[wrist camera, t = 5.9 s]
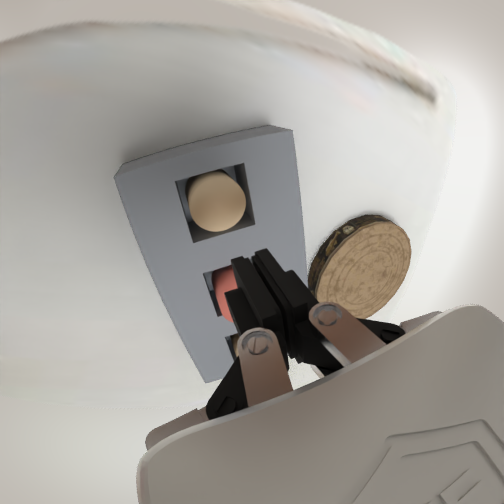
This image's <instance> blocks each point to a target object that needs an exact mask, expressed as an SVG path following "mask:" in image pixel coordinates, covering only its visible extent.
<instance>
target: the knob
mask: <svg viewBox="0 0 504 504" xmlns="http://www.w3.org/2000/svg"><path fill="white" fill-rule="evenodd" d="M185 194H186V198H187V202H188V206H189V209H190V213H191V216H192V218H193V220H194V221H195V223H196V224H197V225H199V226H200V227H201V228H203V229H205V230H208V231H214V232H218V231H224V230H227V229H229V228H231V227H232V226H234V225H235V224H236V223H237V222H238V221H239V220H240V219H241V217H242V216H243V214H244V211H245V207H246V198H245V194H244V192H243V190H242V189H241V187H240V186H239V185H238V184H237V183H236V182H235V181H234V180H233V179H232V178H231V177H230V176H229V175H228V174H227V173H226V172H225V171H224V170H223V169H217V170H214V171H210V172H206V173H203V174H199V175H195V176H192V177H189V179H188V181H187V183H186V187H185Z"/></svg>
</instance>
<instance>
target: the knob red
mask: <svg viewBox="0 0 504 504" xmlns="http://www.w3.org/2000/svg"><path fill="white" fill-rule="evenodd" d="M211 282H212V285H213V288H214V292H215V295H216V298H217V301H218V304H219V307H220V310H221V313H222V315H223V316H224V318H225V319H227V320H228V321H230V322H233V320H232V317H231V314H230V311H229V308H228V305H227V302H226V298H225V295H224V292H227V291H230V290H233V289H236V288H237V284H236V280H235V276H234V272H233V268H232V265H229V266H226V267H223V268H219V269H216V270H214V271H213V273H212V276H211ZM233 323H234V322H233Z"/></svg>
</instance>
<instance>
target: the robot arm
mask: <svg viewBox="0 0 504 504" xmlns="http://www.w3.org/2000/svg"><path fill="white" fill-rule="evenodd" d="M251 259H252V263H251V261H250V259H249V258H248V257H247V258H244V257H243V256H240V257H237V258H234V259H231V264H232V268H233V272H234V276H235V280H236V284H237V288H236V289H233V290H230V291H227V292H224V295H225V298H226V302H227V305H228V308H229V311H230V314H231V317H232V320H233V322H234V325H235V327H236V330H237V332H238V335H239V337H240V338H239V340H238V342H237V348H238V353H239V355H238V357H237V358H236V360H235V361H234V363H233V364H232V366H231V367H230V369H229V371H228V372H227V374H226V375H225V377H224V378H223V380H222V381H221V383H220V384H219V386H218V387H217V389H216V390H215V392H214V393H213V395H212V396H211V398H210V399H209V401H208V403H207V405H206V406H205V407H203V408H202V409H200V410H197V408H196V409H194V410H192V411H191V412H189V413H186V414H184V415H182V416H180V417H179V418H176V419H174V420H172V421H170V422H168V423H166V424H164V425H162V426H159V427H157V428H155V429H154V430H152V431H151V432H150V433H149V434H148V436H147V437H146V441H145V444H146V448H147V450H148V451H147V452H146V453H145V455H144V456H143V457H142V458H141V460H140V462H139V464H138V468H137V477H136V479H137V480H136V483H137V494H138V502H139V504H504V322H502V321H501V320H500V319H499V318H498V317H497V316H495V315H494V314H493V313H492V312H490V311H489V310H487V309H486V308H484V307H482V306H479V305H475V304H471V305H463V306H458V307H455V308H452V309H449V310H447V311H444V312H439V311H437V312H432V313H429V314H426V315H423V316H420V317H417V318H414V319H411V320H408V321H404V322H401V323H400V325H399V326H398V325H395V324H391V323H385V322H379V321H373V320H367V319H361V318H355V317H354V316H353V315H352V314H351V313H349V312H348V311H347V310H346V309H345V308H343V307H342V306H341V305H339V304H338V303H334V302H321V303H319V302H318V300H317V299H316V298H315V297H314V295H313V294H312V293H311V291H310V290H309V289H308V288H307V286H306V285H305V284H304V283H303V281H302V280H301V279H300V278H299V276H298V275H297V274H296V273H295V271H294V270H289V271H286V272H285V271H284V270H283V269H282V267H281V266H280V265H279V263H278V262H277V261H276V259H275V258H274V257H273V255H272V254H271V253H270V251H269V250H268V249H267V248H265V249H262V250H258V251H255V255H253V256H251ZM287 353H288V355H289V357H290V358H291V359H293V358H295V359H296V361H297V362H298V364H299V363H301V362H303V363H307V364H310V365H311V368H312V369H313V371H314V372H315V373H316V374H317V375H318V377H319V378H320V379H319V380H316V381H314V382H312V383H310V384H307V385H305V386H303V387H300V388H298V389H296V390H293V388H292V385H291V381H290V378H289V375H288V370H289V363H288V355H287Z"/></svg>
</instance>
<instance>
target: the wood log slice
mask: <svg viewBox="0 0 504 504" xmlns="http://www.w3.org/2000/svg"><path fill="white" fill-rule="evenodd" d="M410 258H411V246H410V239H409V238H408V236H407V234H406V233H405V231H404V230H403V229H402V228H401V227H399V226H397V225H396V224H394V223H393V222H391V221H390V220H388V219H386V218H384V217H382V216H380V215H364V216H361V217H358V218H355V219H352V220H350V221H348V222H347V223H345V224H344V225H342V226H341V227H340V228H338V229H337V230H335V231H334V232H333V233H332V234H331V236H330V237H329V238H328V239H327V240H326V241H325V242H324V243H323V245H322V246H321V247H320V249H319V251H318V253H317V254H316V256H315V258H314V260H313V262H312V264H311V267H310V271H309V276H308V289H309V290H310V291H311V293H312V294H313V295H314V297H315V298H316V299H317V300H318V302H319V303H321V302H334V303H338V304H339V305H341V306H342V307H343V308H345V309H346V310H347V311H348V312H349V313H351V314H352V315H353V316H354V317H355V318H361V319H366V318H368V317H370V316H372V315H373V314H374V313H376V312H377V311H378V310H380V309H381V308H382V307H383V306H385V305H386V304H387V302H388V301H389V300H390V299H391V298H392V297H393V296H394V295H395V293H396V292H397V290H398V289H399V287H400V286H401V284H402V282H403V281H404V279H405V276H406V273H407V271H408V268H409V265H410Z"/></svg>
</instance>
